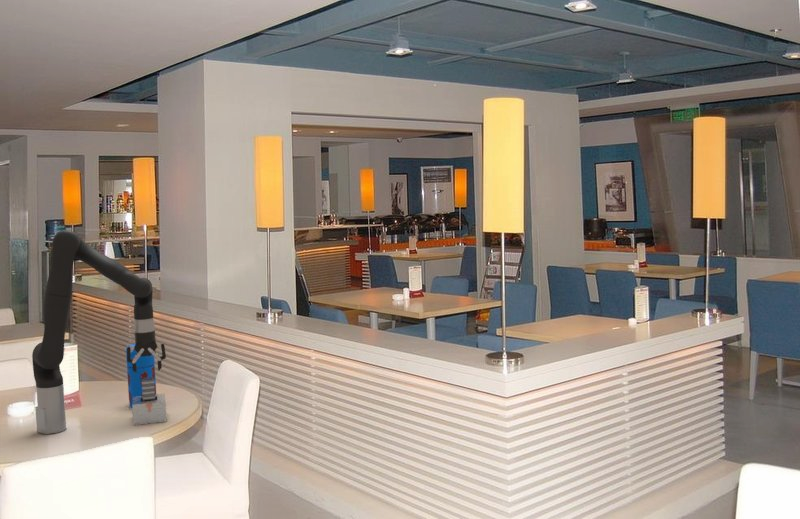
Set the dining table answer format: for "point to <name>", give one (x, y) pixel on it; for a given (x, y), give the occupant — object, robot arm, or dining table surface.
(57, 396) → the robot arm
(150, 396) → the column
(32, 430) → the dining table surface
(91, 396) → the dining table surface
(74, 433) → the dining table surface
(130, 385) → the thermos
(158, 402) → the housing
